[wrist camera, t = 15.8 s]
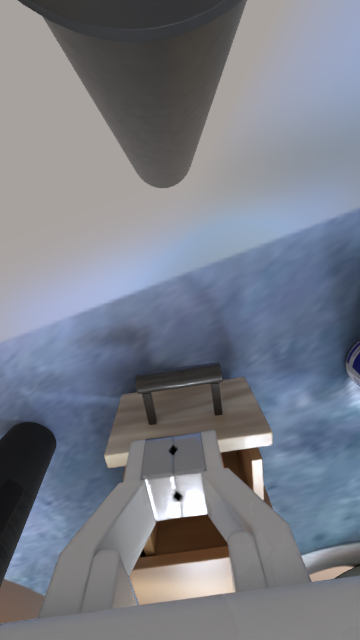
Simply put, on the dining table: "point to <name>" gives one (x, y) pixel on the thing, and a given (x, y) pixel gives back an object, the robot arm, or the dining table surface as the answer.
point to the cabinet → (183, 574)
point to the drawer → (190, 417)
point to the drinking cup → (20, 481)
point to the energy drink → (354, 363)
